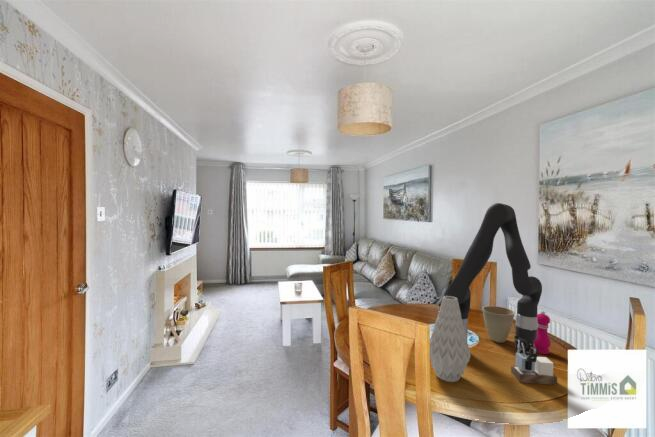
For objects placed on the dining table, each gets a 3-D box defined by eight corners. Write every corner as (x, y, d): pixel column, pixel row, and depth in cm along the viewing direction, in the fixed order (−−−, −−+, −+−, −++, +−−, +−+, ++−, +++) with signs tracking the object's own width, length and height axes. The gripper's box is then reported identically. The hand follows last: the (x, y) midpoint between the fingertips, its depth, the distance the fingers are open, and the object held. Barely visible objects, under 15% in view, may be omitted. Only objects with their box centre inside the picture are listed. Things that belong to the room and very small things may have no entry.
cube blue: (521, 370, 124) (521, 358, 124) (515, 364, 129) (515, 352, 129) (534, 371, 124) (535, 359, 123) (527, 365, 129) (528, 353, 128)
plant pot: (502, 334, 171) (503, 305, 171) (519, 346, 157) (521, 315, 156) (476, 333, 171) (477, 305, 170) (491, 345, 156) (492, 314, 156)
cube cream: (539, 374, 124) (540, 362, 123) (532, 368, 129) (533, 356, 128) (552, 375, 123) (553, 363, 123) (545, 369, 128) (545, 357, 128)
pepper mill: (545, 355, 146) (546, 314, 146) (529, 349, 153) (530, 309, 152) (553, 352, 150) (555, 312, 149) (537, 346, 156) (539, 307, 155)
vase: (430, 362, 138) (433, 289, 137) (471, 372, 130) (474, 296, 129) (421, 379, 124) (424, 299, 123) (466, 393, 115) (469, 306, 114)
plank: (519, 382, 123) (519, 374, 123) (511, 372, 130) (511, 365, 130) (556, 384, 122) (557, 377, 122) (546, 375, 129) (546, 368, 129)
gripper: (508, 318, 133) (506, 357, 134) (526, 331, 119) (524, 375, 120) (526, 319, 133) (524, 358, 133) (546, 333, 118) (544, 376, 119)
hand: (524, 366), depth 126 cm, fingers closed on cube blue, 4 cm apart
